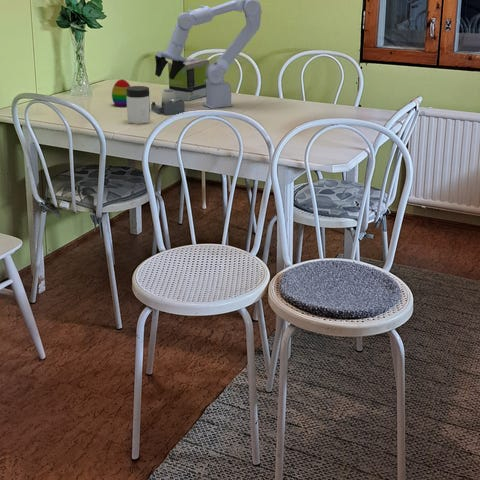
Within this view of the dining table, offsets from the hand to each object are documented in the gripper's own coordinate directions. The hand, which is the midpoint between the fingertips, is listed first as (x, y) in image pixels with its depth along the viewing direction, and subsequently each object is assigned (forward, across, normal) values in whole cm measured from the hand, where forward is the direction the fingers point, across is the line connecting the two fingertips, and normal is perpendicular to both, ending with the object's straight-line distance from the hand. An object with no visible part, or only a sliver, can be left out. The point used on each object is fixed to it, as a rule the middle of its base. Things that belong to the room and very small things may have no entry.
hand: (164, 77), depth 307 cm
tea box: (+7, -22, -4) cm, 24 cm away
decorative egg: (+17, +6, -10) cm, 20 cm away
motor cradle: (+10, +2, +10) cm, 14 cm away
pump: (+10, -6, +2) cm, 12 cm away
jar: (+14, +20, +14) cm, 28 cm away
